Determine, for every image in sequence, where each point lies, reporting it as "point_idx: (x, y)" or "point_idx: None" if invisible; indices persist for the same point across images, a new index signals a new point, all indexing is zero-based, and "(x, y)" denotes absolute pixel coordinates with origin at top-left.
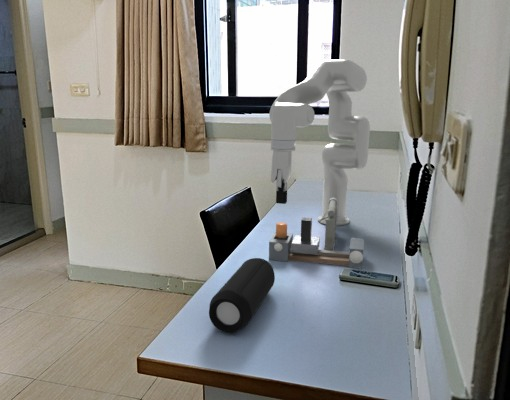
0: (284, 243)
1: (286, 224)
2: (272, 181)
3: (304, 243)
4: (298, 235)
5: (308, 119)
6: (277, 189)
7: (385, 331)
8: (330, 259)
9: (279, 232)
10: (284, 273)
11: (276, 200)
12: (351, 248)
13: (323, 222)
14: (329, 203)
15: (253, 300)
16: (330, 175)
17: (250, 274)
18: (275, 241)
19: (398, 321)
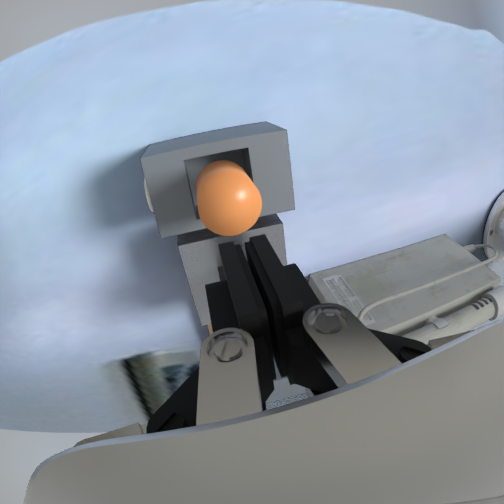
0: (158, 223)
1: (236, 231)
2: (47, 473)
3: (198, 287)
4: (283, 235)
5: None
6: (201, 365)
7: (23, 419)
8: (208, 328)
9: (196, 195)
10: (74, 239)
11: (221, 256)
12: None
13: (495, 208)
14: (490, 296)
15: None
16: None
17: None
18: (157, 182)
19: (56, 429)
